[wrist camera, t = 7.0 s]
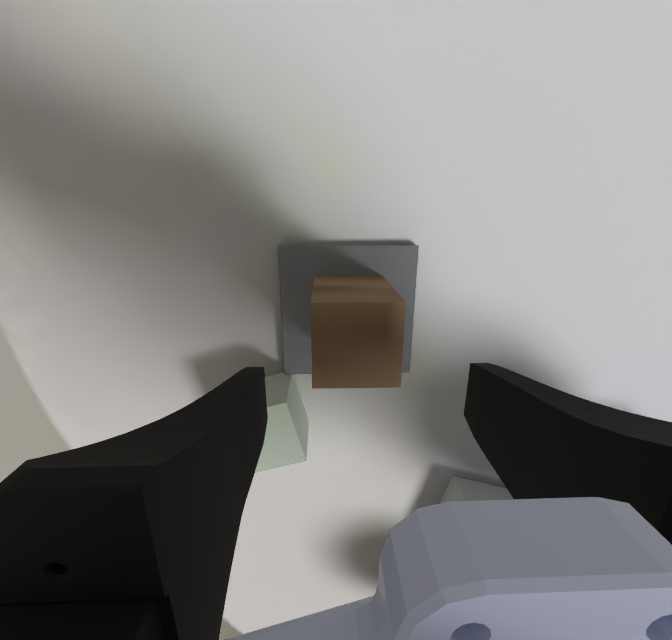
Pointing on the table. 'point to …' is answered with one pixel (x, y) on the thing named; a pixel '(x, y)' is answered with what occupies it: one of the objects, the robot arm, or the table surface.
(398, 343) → the walnut block
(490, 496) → the grey plastic box
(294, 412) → the sage block
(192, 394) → the table surface
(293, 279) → the slate coaster
